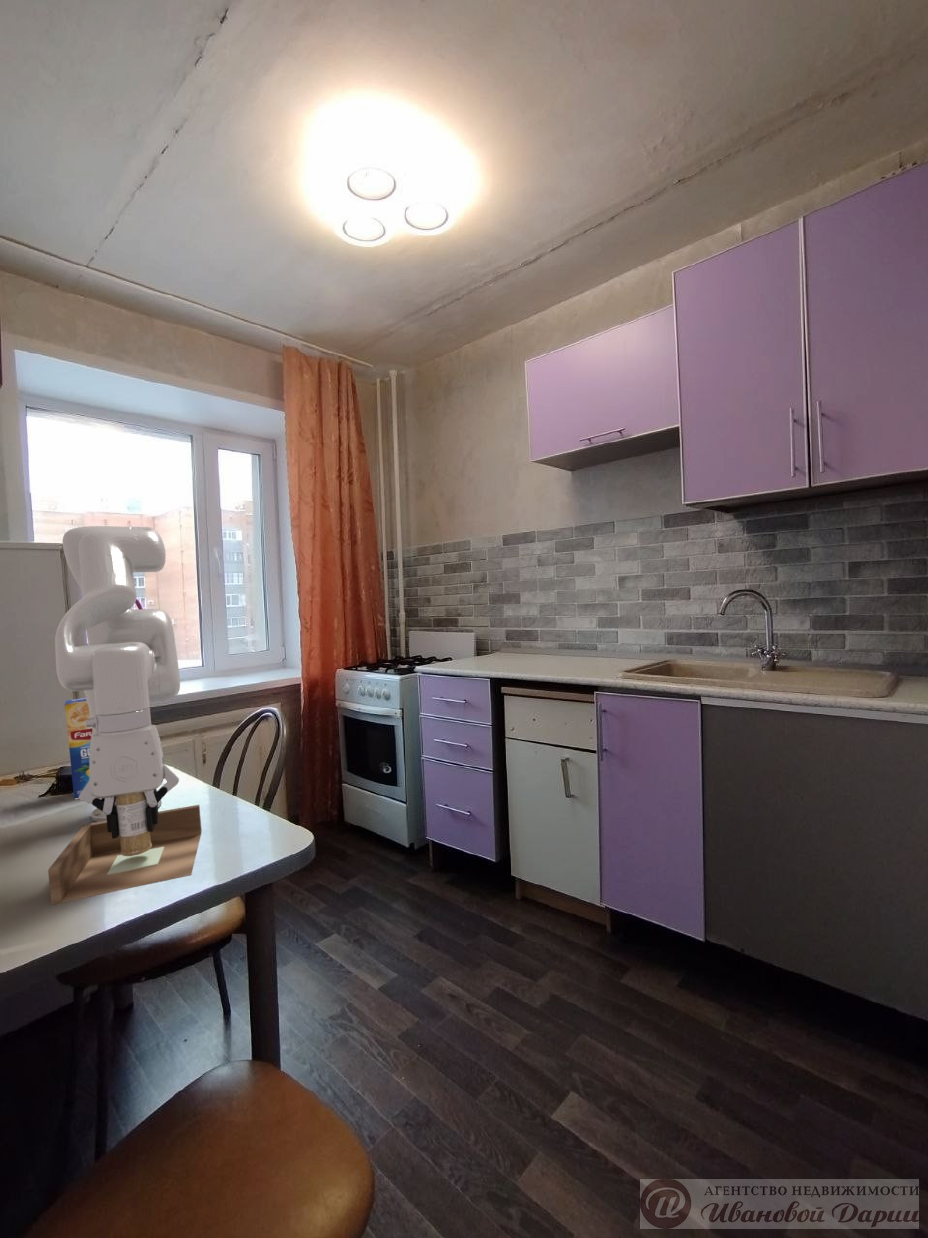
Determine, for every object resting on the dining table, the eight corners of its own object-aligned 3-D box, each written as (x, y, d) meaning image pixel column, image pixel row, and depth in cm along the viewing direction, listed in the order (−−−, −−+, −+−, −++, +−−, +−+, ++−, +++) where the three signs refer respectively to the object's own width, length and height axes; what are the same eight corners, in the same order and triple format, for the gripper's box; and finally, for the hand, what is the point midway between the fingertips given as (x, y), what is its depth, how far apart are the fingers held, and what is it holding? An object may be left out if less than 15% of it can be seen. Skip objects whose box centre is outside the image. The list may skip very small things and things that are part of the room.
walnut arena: (87, 856, 97) (84, 824, 97) (201, 834, 103) (199, 804, 103) (51, 908, 80) (48, 869, 80) (191, 878, 87) (188, 842, 86)
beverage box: (129, 788, 134) (121, 696, 133) (73, 800, 128) (64, 704, 127) (128, 781, 140) (120, 693, 139) (74, 792, 134) (65, 700, 133)
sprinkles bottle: (150, 842, 96) (143, 764, 95) (153, 851, 92) (145, 770, 92) (119, 851, 93) (111, 770, 93) (120, 860, 90) (112, 776, 89)
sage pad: (117, 856, 95) (117, 855, 95) (164, 847, 97) (164, 846, 97) (107, 875, 88) (107, 873, 88) (157, 865, 91) (157, 863, 91)
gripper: (55, 734, 85) (66, 852, 86) (179, 718, 91) (188, 830, 92) (70, 724, 93) (81, 834, 93) (184, 711, 98) (193, 814, 99)
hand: (134, 831), depth 93 cm, fingers closed on sprinkles bottle, 4 cm apart
